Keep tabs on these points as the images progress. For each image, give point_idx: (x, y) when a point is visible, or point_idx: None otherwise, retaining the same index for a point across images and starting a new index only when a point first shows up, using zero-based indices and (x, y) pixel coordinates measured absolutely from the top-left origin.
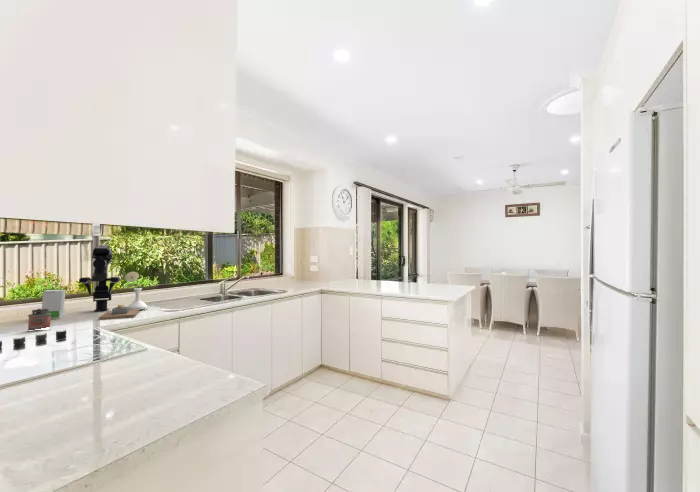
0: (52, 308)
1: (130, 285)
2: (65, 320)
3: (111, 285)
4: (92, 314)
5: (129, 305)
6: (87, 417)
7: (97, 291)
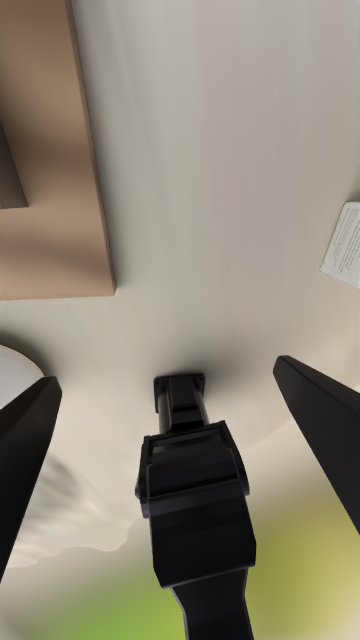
0: None
1: None
2: (334, 61)
3: None
4: (195, 293)
5: (9, 380)
6: None
7: (224, 491)
